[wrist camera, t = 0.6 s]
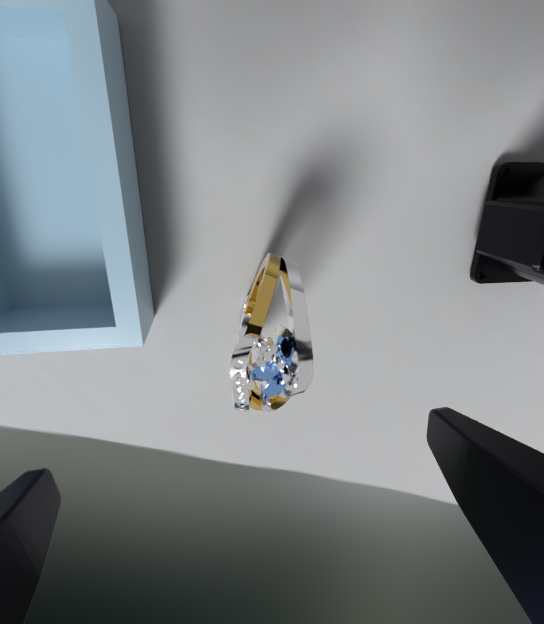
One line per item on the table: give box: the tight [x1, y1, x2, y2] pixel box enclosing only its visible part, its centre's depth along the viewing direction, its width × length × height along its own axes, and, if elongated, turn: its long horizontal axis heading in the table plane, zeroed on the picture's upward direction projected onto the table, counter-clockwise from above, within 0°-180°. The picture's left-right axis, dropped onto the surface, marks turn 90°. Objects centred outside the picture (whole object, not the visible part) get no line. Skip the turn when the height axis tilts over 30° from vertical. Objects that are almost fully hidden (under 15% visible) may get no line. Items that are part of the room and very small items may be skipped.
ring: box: [230, 253, 313, 412], centre depth 16 cm, size 7×3×8 cm, turn 160°
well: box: [0, 0, 155, 355], centre depth 15 cm, size 8×13×4 cm, turn 0°
